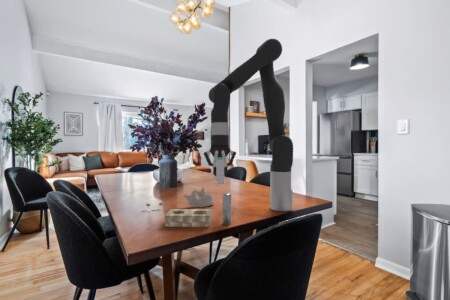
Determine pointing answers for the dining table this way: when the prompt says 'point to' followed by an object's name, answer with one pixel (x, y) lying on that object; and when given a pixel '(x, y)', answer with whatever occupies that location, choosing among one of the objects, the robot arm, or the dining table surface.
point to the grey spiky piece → (199, 199)
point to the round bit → (226, 208)
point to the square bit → (220, 171)
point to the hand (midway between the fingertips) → (220, 175)
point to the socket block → (188, 218)
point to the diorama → (153, 210)
